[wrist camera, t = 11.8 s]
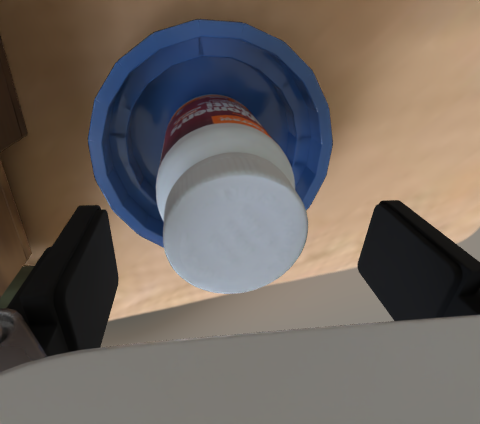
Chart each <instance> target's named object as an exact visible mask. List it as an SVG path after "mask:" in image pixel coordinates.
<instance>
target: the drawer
mask: <svg viewBox="0 0 480 424" xmlns="http://www.w3.org/2000/svg"><path fill="white" fill-rule="evenodd" d="M31 254H32V252H31V249H30V246H29V243H28V240H27V237H26V234H25V231H24V228H23V225H22V222H21V219H20V216H19V213H18V210H17V207H16V204H15V201H14V198H13V196H12V193H11V190H10V187H9V184H8V181H7V178H6V175H5V172H4V169H3V166H2V163H1V160H0V308H7V306H8V305H9V303H10V302H11V300H12V299H13V297H14V296H15V294H16V293H17V291H18V290H19V288H20V287H21V285H22V284H23V282H24V281H25V280H26V278H27V277H28V275H29V274H30V272H31V271H32V269H33V268H34V266H23V265H24V264H25V262H26V260H27V259H28V258H29V257H30V255H31Z"/></svg>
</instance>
